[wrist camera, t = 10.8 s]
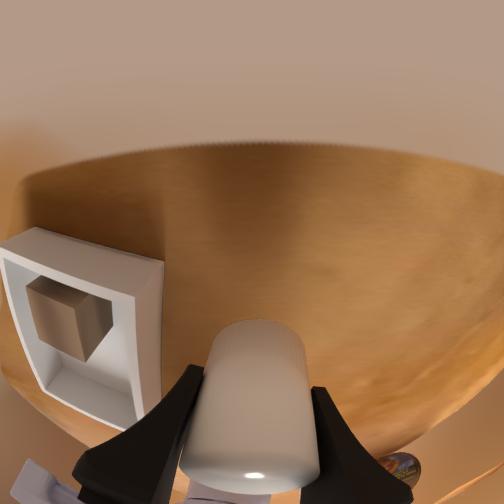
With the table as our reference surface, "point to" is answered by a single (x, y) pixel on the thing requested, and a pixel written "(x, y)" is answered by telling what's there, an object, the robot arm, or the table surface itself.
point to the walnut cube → (68, 317)
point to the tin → (402, 467)
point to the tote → (117, 339)
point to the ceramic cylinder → (253, 413)
